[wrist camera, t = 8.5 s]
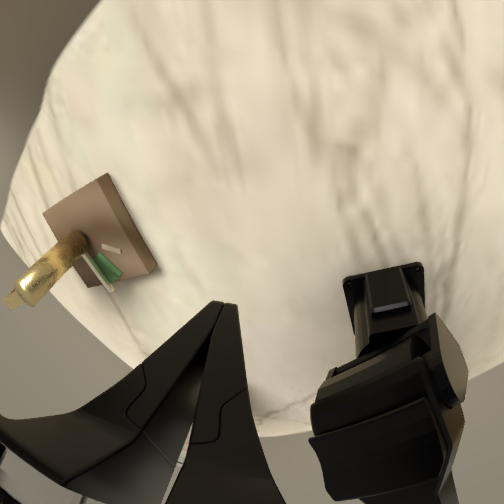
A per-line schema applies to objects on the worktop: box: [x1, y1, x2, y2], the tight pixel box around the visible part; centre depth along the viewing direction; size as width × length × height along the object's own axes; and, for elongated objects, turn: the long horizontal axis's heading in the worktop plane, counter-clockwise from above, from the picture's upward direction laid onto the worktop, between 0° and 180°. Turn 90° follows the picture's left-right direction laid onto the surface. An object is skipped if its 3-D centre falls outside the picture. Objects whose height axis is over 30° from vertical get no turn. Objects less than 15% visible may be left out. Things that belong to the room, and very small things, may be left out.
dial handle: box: [3, 230, 114, 311], centre depth 22 cm, size 6×8×8 cm
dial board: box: [42, 173, 157, 288], centre depth 25 cm, size 9×9×2 cm
